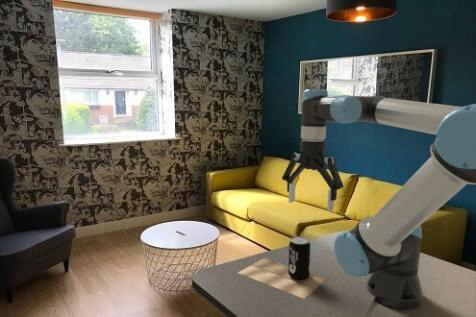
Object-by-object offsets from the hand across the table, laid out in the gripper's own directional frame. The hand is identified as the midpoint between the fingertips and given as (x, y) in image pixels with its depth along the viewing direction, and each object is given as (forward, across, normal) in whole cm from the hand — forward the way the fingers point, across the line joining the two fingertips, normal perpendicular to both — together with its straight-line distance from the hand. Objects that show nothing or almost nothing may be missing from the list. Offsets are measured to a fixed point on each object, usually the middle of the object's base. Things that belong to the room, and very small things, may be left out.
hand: (310, 206), depth 115 cm
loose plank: (+23, +4, +6) cm, 24 cm away
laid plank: (+23, +4, +13) cm, 27 cm away
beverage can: (+22, 0, +6) cm, 22 cm away
